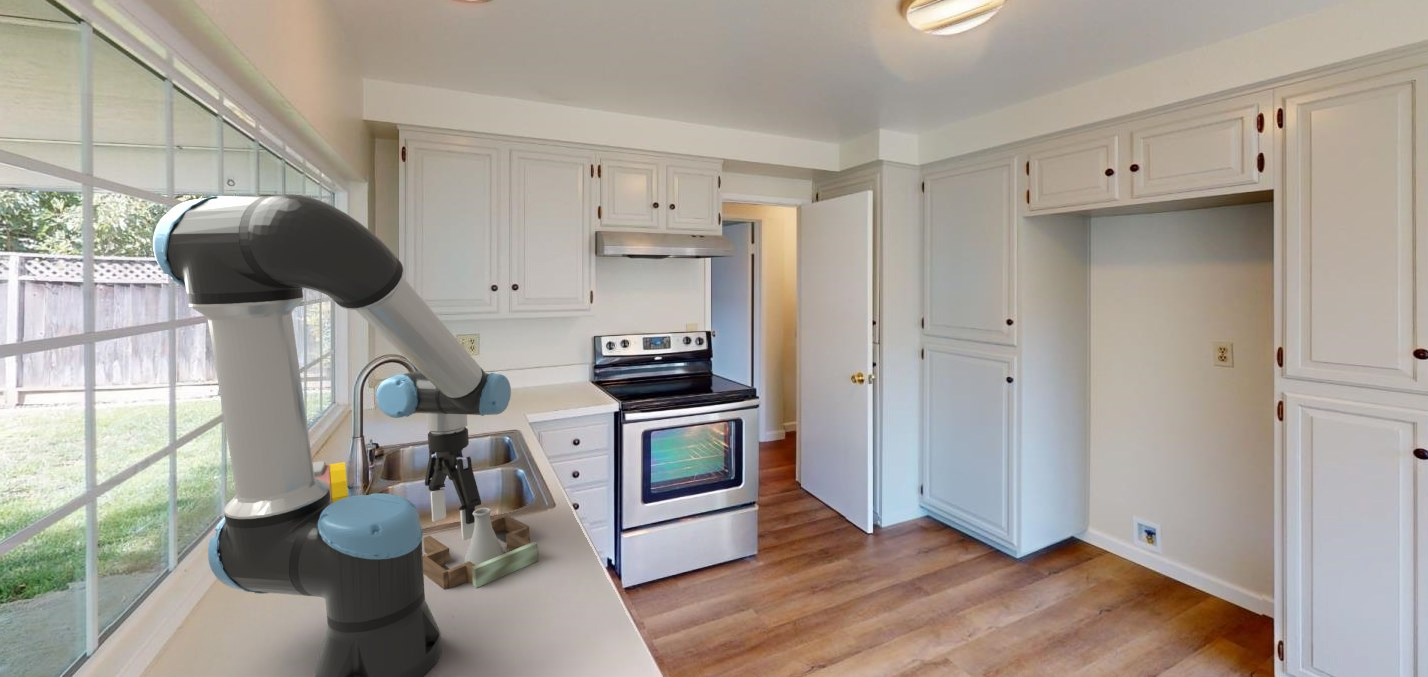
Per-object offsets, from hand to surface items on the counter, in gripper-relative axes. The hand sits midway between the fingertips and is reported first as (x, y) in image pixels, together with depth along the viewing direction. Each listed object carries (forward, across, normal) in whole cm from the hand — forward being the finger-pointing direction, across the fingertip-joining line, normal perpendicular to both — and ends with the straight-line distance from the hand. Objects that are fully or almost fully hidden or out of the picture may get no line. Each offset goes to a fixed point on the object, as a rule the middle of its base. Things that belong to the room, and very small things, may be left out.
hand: (453, 528), depth 116 cm
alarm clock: (+3, +15, +19) cm, 24 cm away
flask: (+3, -13, 0) cm, 14 cm away
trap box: (+2, -11, 0) cm, 12 cm away
